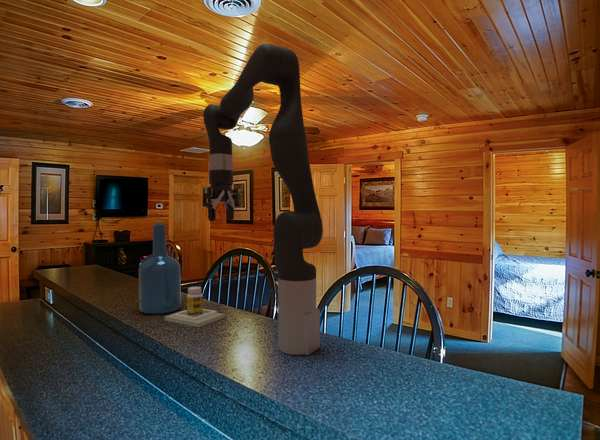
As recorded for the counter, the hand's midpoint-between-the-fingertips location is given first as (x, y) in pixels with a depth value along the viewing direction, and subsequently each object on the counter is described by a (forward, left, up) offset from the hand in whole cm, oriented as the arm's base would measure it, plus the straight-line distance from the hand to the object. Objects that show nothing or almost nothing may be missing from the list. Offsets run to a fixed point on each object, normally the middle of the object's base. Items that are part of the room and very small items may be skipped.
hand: (221, 220), depth 123 cm
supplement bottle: (+4, +8, -29) cm, 30 cm away
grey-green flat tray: (+4, +8, -30) cm, 31 cm away
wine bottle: (+22, +6, -30) cm, 38 cm away
